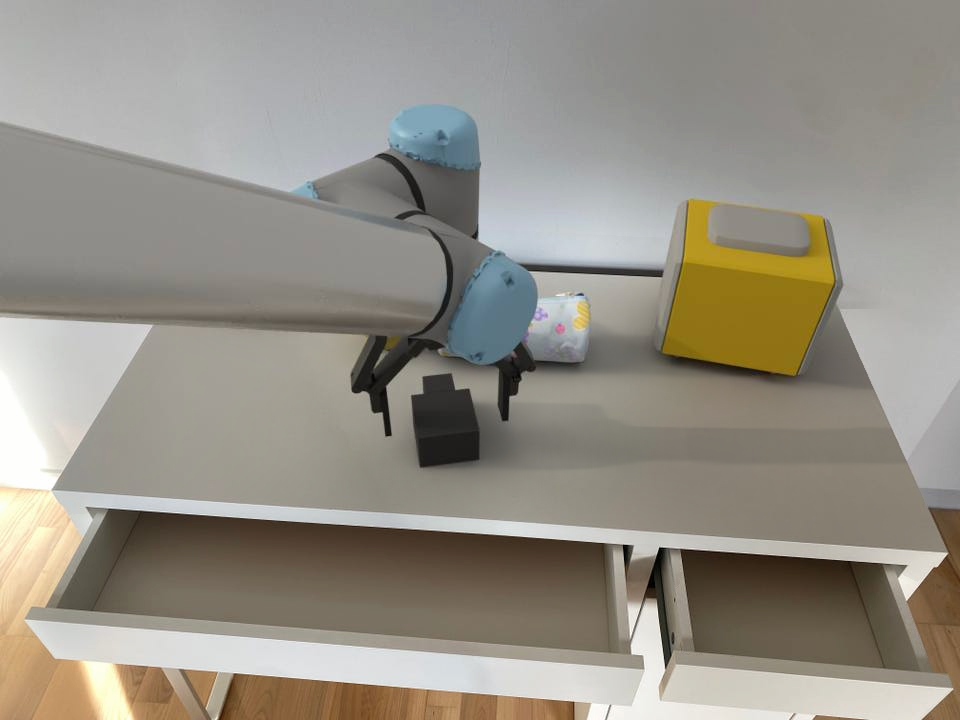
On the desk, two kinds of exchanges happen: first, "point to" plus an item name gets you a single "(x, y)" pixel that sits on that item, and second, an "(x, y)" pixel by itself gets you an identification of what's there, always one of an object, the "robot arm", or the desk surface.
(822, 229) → the alarm clock
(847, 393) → the desk surface
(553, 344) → the pencil case
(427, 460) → the tab pad
